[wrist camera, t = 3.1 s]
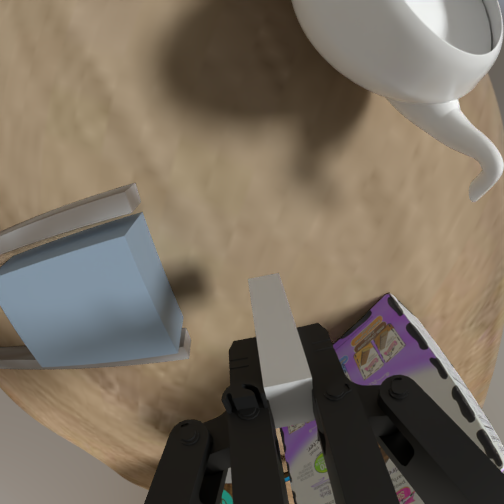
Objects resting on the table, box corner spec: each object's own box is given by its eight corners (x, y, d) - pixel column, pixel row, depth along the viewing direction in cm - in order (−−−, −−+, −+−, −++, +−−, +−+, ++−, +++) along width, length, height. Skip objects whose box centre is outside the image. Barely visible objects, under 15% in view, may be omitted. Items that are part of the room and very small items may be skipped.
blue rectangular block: (14, 254, 17) (-14, 280, 14) (143, 210, 17) (124, 235, 14) (59, 335, 21) (42, 367, 17) (183, 314, 21) (178, 353, 17)
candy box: (313, 407, 27) (351, 551, 12) (270, 392, 25) (300, 562, 10) (419, 318, 23) (515, 464, 8) (387, 288, 21) (507, 469, 6)
